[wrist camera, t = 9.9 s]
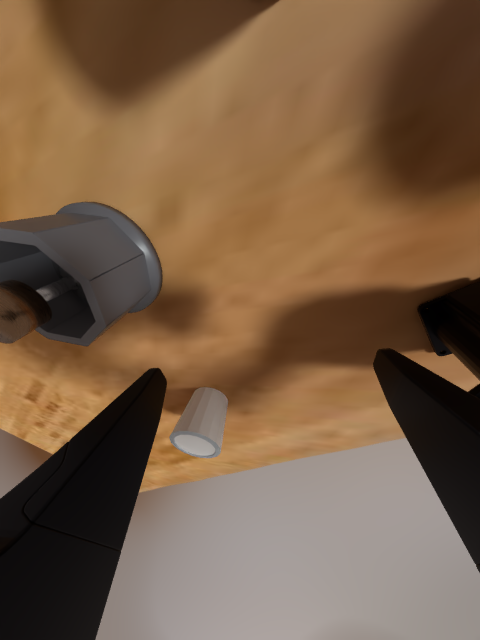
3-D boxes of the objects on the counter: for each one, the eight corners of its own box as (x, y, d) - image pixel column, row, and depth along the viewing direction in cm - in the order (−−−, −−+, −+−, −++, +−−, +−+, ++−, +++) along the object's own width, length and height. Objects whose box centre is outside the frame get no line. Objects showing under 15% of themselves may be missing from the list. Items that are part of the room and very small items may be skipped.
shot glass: (202, 377, 29) (183, 425, 23) (240, 400, 31) (231, 450, 25) (182, 396, 33) (160, 442, 27) (216, 416, 34) (203, 463, 29)
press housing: (152, 208, 17) (81, 223, 11) (168, 315, 24) (128, 361, 18) (22, 193, 19) (-105, 199, 13) (70, 298, 25) (0, 336, 19)
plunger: (116, 238, 17) (2, 276, 10) (134, 308, 21) (61, 370, 14) (43, 228, 17) (-111, 258, 11) (74, 298, 21) (-24, 352, 14)
